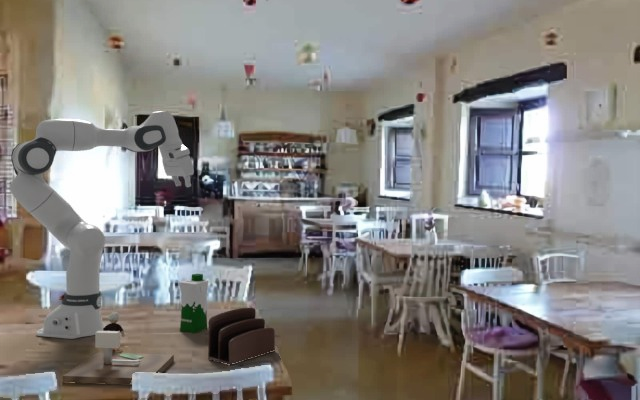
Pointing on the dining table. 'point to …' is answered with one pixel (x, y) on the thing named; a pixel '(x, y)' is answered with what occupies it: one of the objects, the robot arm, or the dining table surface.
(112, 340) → the grey piece
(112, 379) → the wooden cutting board
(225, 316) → the letter holder
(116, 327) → the grandmother figurine
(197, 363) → the dining table surface
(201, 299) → the milk carton
